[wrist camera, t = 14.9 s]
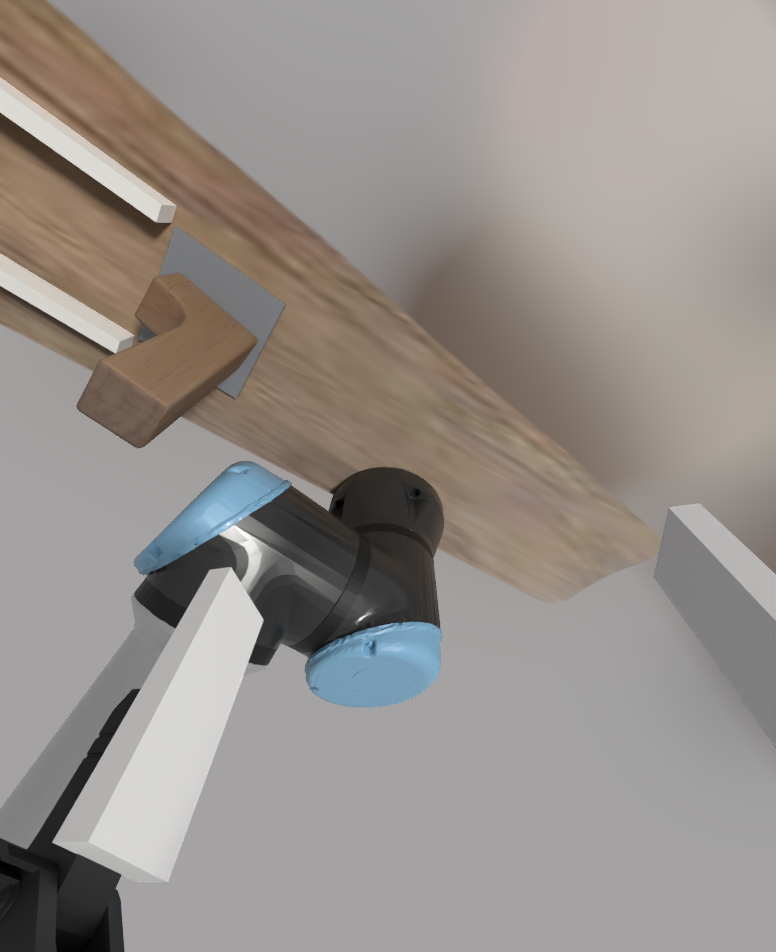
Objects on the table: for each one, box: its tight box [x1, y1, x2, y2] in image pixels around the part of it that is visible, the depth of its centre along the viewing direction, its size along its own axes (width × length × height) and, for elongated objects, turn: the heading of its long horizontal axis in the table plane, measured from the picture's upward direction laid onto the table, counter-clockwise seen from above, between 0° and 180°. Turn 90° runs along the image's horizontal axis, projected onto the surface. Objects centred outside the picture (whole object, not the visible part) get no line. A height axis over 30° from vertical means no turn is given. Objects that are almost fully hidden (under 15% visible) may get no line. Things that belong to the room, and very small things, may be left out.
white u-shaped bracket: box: [0, 77, 177, 353], centre depth 33 cm, size 20×15×4 cm
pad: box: [138, 227, 286, 399], centre depth 38 cm, size 11×12×1 cm
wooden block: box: [77, 273, 258, 448], centre depth 31 cm, size 9×4×18 cm, turn 47°
